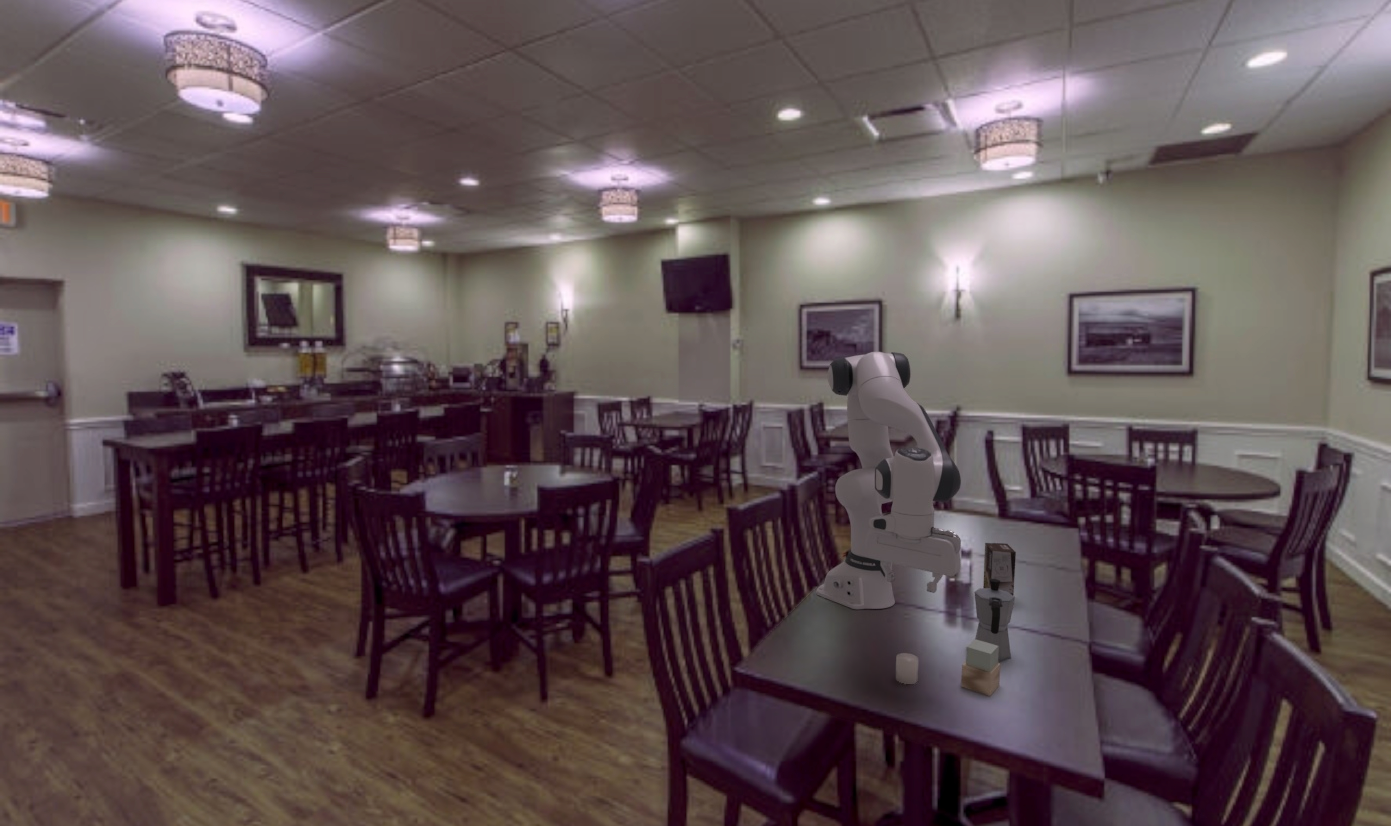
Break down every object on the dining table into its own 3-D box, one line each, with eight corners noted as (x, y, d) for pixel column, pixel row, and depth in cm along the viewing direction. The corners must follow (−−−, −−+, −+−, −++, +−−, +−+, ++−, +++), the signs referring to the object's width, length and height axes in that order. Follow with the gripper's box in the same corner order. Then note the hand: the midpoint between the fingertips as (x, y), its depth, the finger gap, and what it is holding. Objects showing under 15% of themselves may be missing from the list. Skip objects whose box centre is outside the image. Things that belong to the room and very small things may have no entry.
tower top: (965, 664, 142) (966, 646, 141) (974, 656, 145) (974, 639, 145) (990, 672, 138) (990, 653, 138) (997, 663, 142) (998, 645, 142)
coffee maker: (971, 639, 165) (974, 569, 164) (1010, 644, 162) (1013, 573, 160) (972, 665, 151) (976, 589, 150) (1015, 672, 148) (1018, 594, 147)
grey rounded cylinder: (892, 680, 145) (892, 658, 144) (901, 672, 148) (901, 651, 148) (912, 687, 142) (913, 664, 141) (921, 679, 145) (921, 657, 145)
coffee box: (1013, 608, 185) (1016, 552, 183) (989, 606, 186) (991, 550, 185) (1005, 596, 194) (1008, 542, 192) (982, 594, 195) (984, 541, 194)
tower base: (961, 686, 142) (961, 664, 142) (970, 676, 146) (971, 655, 146) (990, 696, 138) (991, 673, 138) (999, 685, 142) (1000, 663, 142)
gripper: (966, 529, 137) (964, 593, 138) (875, 513, 151) (874, 572, 152) (955, 535, 132) (952, 602, 134) (862, 518, 146) (861, 579, 147)
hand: (910, 586), depth 143 cm, fingers open, 8 cm apart
